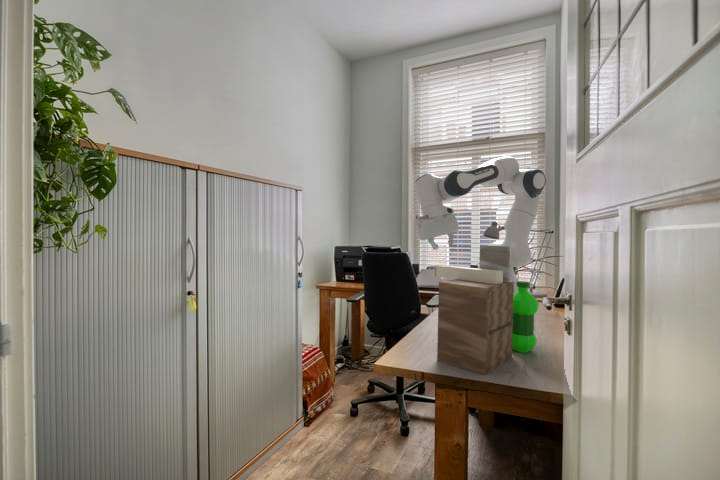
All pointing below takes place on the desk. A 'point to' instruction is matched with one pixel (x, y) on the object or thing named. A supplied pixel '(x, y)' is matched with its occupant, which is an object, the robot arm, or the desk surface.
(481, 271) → the white rectangular bar
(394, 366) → the desk surface
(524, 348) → the plastic bottle
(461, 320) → the wood grain block
